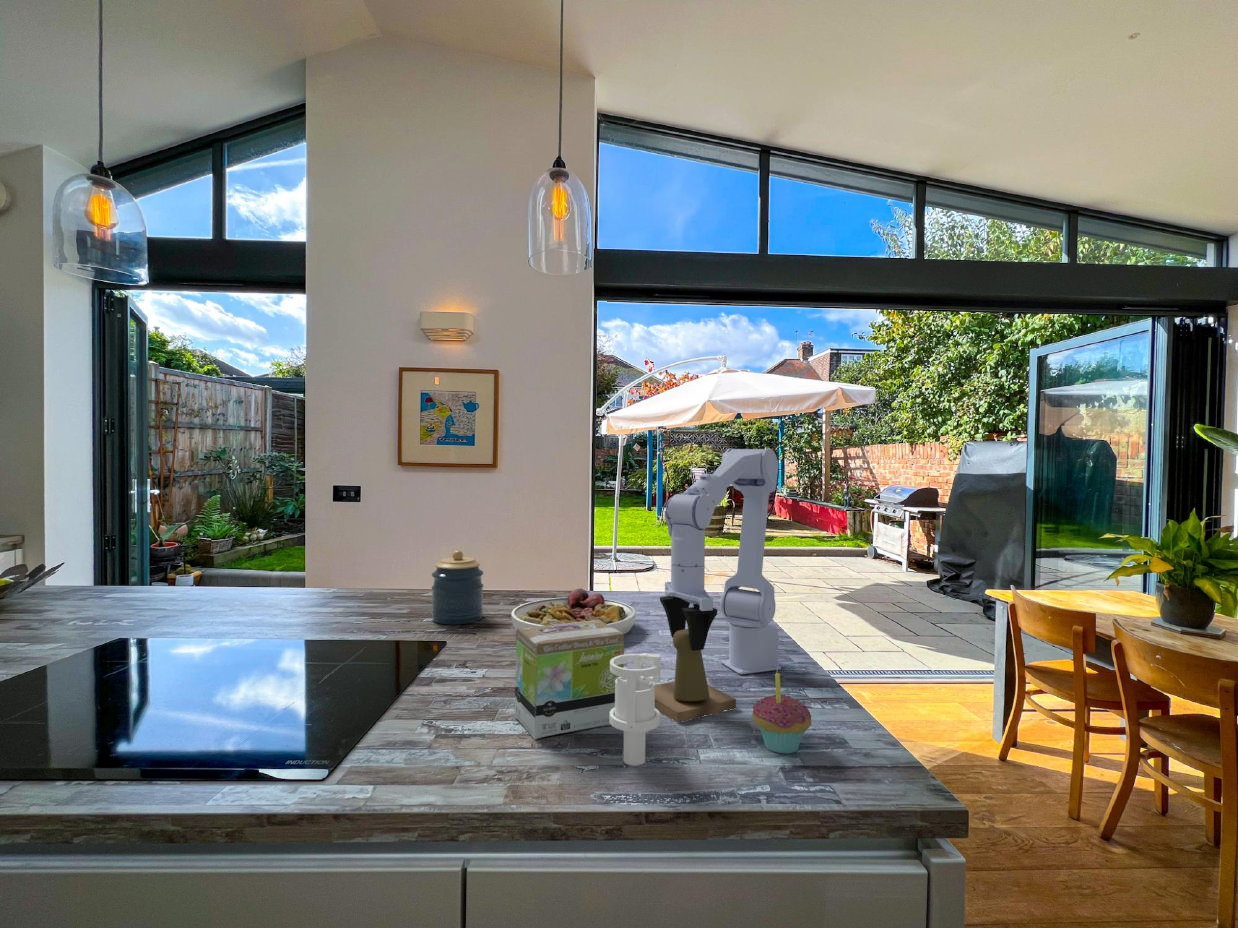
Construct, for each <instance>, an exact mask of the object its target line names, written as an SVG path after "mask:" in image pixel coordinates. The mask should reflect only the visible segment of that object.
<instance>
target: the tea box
mask: <svg viewBox="0 0 1238 928" xmlns="http://www.w3.org/2000/svg"><path fill="white" fill-rule="evenodd" d="M515 644H516V646H515V647H516V648H515V650H516V651H515V674H514V677H515V681H514V682H515V683H514V686H515V687H514V716H515V718H516V719H517V720H518V721H519V723H520V724H521V725H522V727H523V728H524V729H525V730H526V731H527V732H528V733H529V735H530V736H531V737H532V738H533V739H534V740H538V739H543V738H545V737H549V736H555V735H559V734H565V733H571V732H576V731H577V732H578V731H581V730H586V729H593V728H598V727H600V728H601V727H605V726H612V725H611V724H610V721H609V717H610V710H611V709H612V708H614V707H615V680H616V679H617V678H618V677H620V676H617V675H614V674H613V673H611V672H610V660H611V659H612V658H614V657H616V656H620V655H625V634H623V633H622V632H620V631H618V630H616V629H615V628H613V627H611V626H609V625H607V624H606V623H604V622H602V621H600V620H590V621H580V622H571V623H562V624H553V625H544V626H535V627H525V628H518V629H517V630H516V643H515ZM624 664H625V663H624ZM624 664H620V665H617V666H619V667H622V668H624Z"/></svg>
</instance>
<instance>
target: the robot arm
mask: <svg viewBox="0 0 1238 928" xmlns="http://www.w3.org/2000/svg"><path fill="white" fill-rule="evenodd" d="M778 472H779V461H778V458H777V454H776V453H775V451H774V450H773V449H772V448H770V447H769V448H761V449H760V448H759V449H758V448H757V449H756V448H753V449H751V448H748V449H747V448H736V449H735V448H727V449H726V450H725V452H723V453H722V456H721V464H720V465H719V466H718V467H717V468H716V470H715V471H714V472H713V473H702V474H700V475H699V478H698V479H697V480H696V481H695V482H694V483H693V484H692V485H690V486H689V487H688V488H687V490H685V491H684V492H683V493H682V494H681V493H677V494H674V495H673V496H671V497H670V498H669V499H668V500H667V503H666V505H665V510H664V518H665V522H666V524H667V532H668V536H669V537H670V538H671V540H670V541H671V544H670V545H671V547H670V549H671V550H670V552H671V553H670V554H671V555H670V559H671V560H670V568H671V569H670V581H665V582H664V595H666V596H660V597H659V602H660V603H661V605H662V607H663V609H664V612H665V615H666V618H667V623H668V628H669V632H670V636H671V638H672V639H673V636H674V634H675V632H677V631H679V630H683V629H686V625H687V629H688V631H689V642H690V647H691V650H693V651H696V650H701V651H702V650H703V651H704V649H705V645H706V642H707V638H708V634H709V631H710V628H711V625H712V623H713V621H714V619H716V617H717V615H718V608H715V607H714V598H712V597H711V596H710V595H709V594H708V592H707V590H706V589H705V568H706V567H705V565H706V564H705V562H706V559H705V557H706V556H705V555H706V553H705V552H706V551H705V549H706V546H705V545H706V528H708V527H709V526H710V525H711V521H712V517H713V514H714V513H715V509H716V508H717V506H719V505H720V504H721V503H722V502H723V501H724V499H725V498H726V497H727V492H728V491H727V490H728V489H727V488H729V487H730V486H731V485H732V487H733V488H734V489H735V490H737V491H739V492H741V494H742V495H743V505H742V515H741V517H742V518H741V527H740V538H739V546H738V547H739V549H738V556H737V557H738V558H737V570H736V573H735V574H734V575H731V577H729V578H727V579H726V580H725V583H724V588H723V592H722V594H721V596H720V607H719V608H720V611H721V614H722V615H723V617H725V618H726V619H725V620H726V623H729V624H728V625H729V636H728V637H729V639H728V645H729V647H728V649H729V650H728V652H729V653H728V656H729V657H728V659H727V658H726V659H725V658H724V659H720V663H721V664H722V665H725V666H726V667H727V668H729V669H731V671H734V672H736V673H737V674H738V675H746V674H747V675H748V674H755V673H756V674H757V673H763V672H770V671H776V669H778V671H779V670H781V668H782V666H780V663H779V661H780V660H779V658H780V656H779V655H780V654H779V651H780V649H779V648H780V636H779V635H780V634H779V631H778V629H777V627H776V625H775V624H774V623H773V622H772V621H773V619H774V618H775V615H776V614H775V613H776V608H777V607H776V599H775V598H776V597H775V587H774V585H773V584H772V583H771V582H770V581H769V580H768V579H766V577H765V576H764V575H763V568H764V567H763V566H764V556H765V555H764V553H765V544H766V543H765V542H766V533H767V532H766V531H767V522H768V521H767V520H768V511H769V510H768V509H769V499H770V494H771V493H773V492H775V491H776V488H777V484H778V474H779V473H778ZM743 588H747V589H743ZM750 589H752V590H750ZM753 589H754V590H753ZM690 604H691V605H693V606H692V607H690V606H691V605H690Z"/></svg>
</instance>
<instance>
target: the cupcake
mask: <svg viewBox="0 0 1238 928" xmlns="http://www.w3.org/2000/svg"><path fill="white" fill-rule="evenodd" d="M775 671H776V673H775V675H774V676H775V694H774V695H769V696H766V697H765V696H764V697H763V698H760V700H758V701H757V702H756V703H755V704H753V707H752V719H753V722H754V724H755V725H756V727H758V728H759V730H760V733H761V736H762V739H763V742H764V745H765V748H766V749H768V750H769V751H771V752H775V753H779V754H794V753H796V752H797V751H798V749H799V747H800V744H801V741H802V738H803V736H804V734H805V733H806V731H808V729H809V728H810V727H811V726H812V714H811V712H810V711H809V709H808V707H807V706H806V705H805V704H804V703H801V702H800V701H799V700H797V699H796V698H793V697H791V696H789V695H788V696H787V695H785V694H782V693H781V673H780V672H779V670H778V669H776V670H775Z"/></svg>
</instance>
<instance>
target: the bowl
mask: <svg viewBox="0 0 1238 928" xmlns="http://www.w3.org/2000/svg"><path fill="white" fill-rule="evenodd" d="M636 613H637V612H636V609H635V608H634V607H633V606H631V605H629V604H628V603H625V602H622V601H617V600H613V599H607V598H604V596H603V594H601V593H598V592H597V593H593V594H592V595H590V596H589V593H588V592H587V591H586V590H585V589H583V588H576V589H573V590H572V591H571V592H570V593H569V594H568V597H554V598H544V599H538V600H533V601H529V602H526V603H523V604H521V605H518V606H516V607H515V608H513V610H512V611H511V616H510V617H511V623H512V625H513V628H514V629H515V631H517V629H518V628H525V627H535V626H544V625H553V624H562V623H571V622H580V621H590V620H600V621H602V622H604V623H606V624H607V625H609V626H611V627H613V628H615V629H616V630H618V631H620V632H622V633H623V634H624V635H626V634H627V633H628V632H630V630H631V629H632V628H633V626H634V625H635V622H636V618H637V617H636Z"/></svg>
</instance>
